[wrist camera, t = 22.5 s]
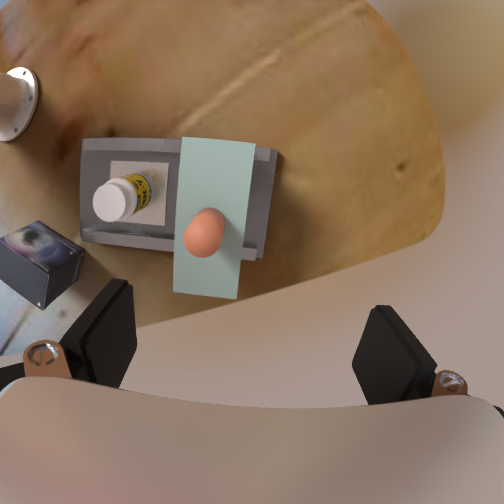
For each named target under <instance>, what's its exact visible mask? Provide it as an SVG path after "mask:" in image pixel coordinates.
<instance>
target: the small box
mask: <svg viewBox="0 0 504 504" xmlns="http://www.w3.org/2000/svg"><path fill="white" fill-rule="evenodd" d="M84 252H85V250H84V249H83V248H81V247H80V246H78V245H76V244H75V243H73V242H71V241H70V240H68V239H67V238H65V237H63V236H62V235H60V234H59V233H57V232H55V231H54V230H52V229H51V228H49V227H48V226H46V225H44V224H43V223H41V222H40V221H36V222H34V223H32V224H29V225H27V226H25V227H23V228H21V229H18V230H16V231H14V232H12V233H10V234H8V235H5V236H3V237H1V238H0V279H1V280H2V281H3V282H5V283H6V284H7V285H8V286H10V287H11V288H12V289H13V290H15V291H16V292H17V293H19V294H20V295H21V296H23V297H24V298H25V299H27V300H28V301H30V302H31V303H32V304H34V305H35V306H37V307H38V308H39V309H41V310H42V311H43V310H45V309H46V307H47V306H48V305H49V304H50V303H51V302H53V301H54V300H55V299H56V298H57V297H58V296H59V295H60V294H62V293H63V292H64V291H65V290H66V289H67V288H68V287H70V286H71V285H72V284H73V283H75V282H76V281H77V279H78V274H79V270H80V266H81V263H82V260H83V257H84Z"/></svg>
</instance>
